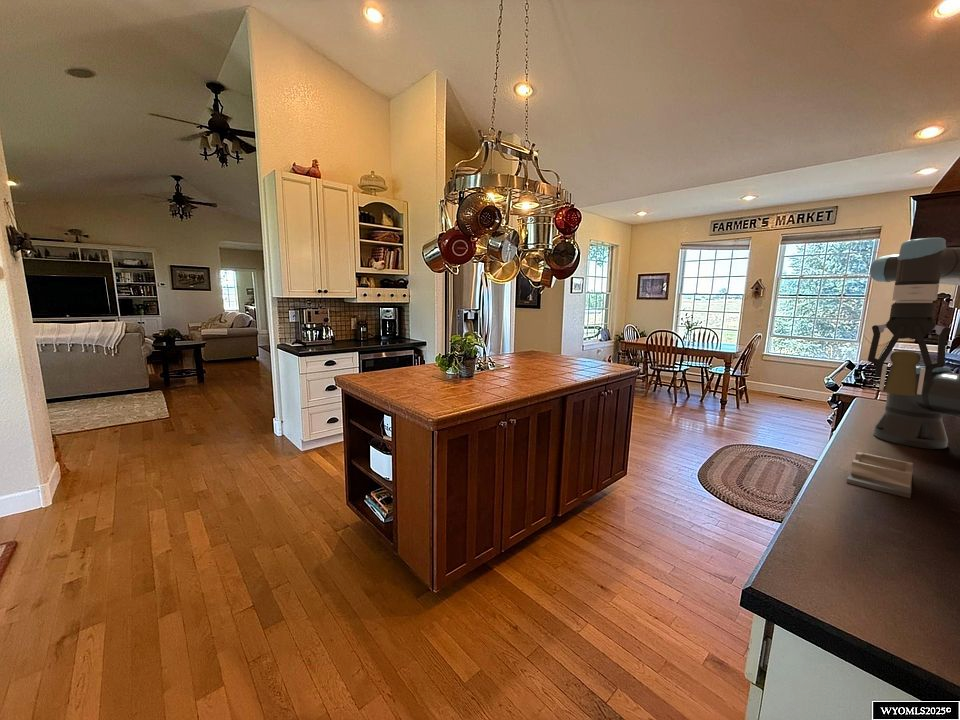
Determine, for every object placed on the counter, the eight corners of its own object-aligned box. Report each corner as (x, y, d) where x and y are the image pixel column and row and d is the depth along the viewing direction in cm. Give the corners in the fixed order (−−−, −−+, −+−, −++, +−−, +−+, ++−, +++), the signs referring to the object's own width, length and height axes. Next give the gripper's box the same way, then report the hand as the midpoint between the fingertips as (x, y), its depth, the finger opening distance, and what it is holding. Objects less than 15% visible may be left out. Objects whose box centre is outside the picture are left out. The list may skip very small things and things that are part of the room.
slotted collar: (855, 461, 102) (857, 447, 102) (911, 474, 95) (914, 458, 94) (846, 482, 91) (849, 466, 90) (910, 498, 83) (913, 480, 83)
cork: (924, 396, 98) (931, 352, 96) (895, 395, 99) (902, 352, 97) (903, 390, 104) (909, 350, 102) (876, 389, 105) (882, 349, 103)
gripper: (859, 302, 102) (848, 387, 106) (975, 301, 88) (957, 400, 92) (862, 302, 107) (851, 384, 111) (972, 301, 93) (956, 395, 97)
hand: (899, 391), depth 101 cm, fingers closed on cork, 6 cm apart
